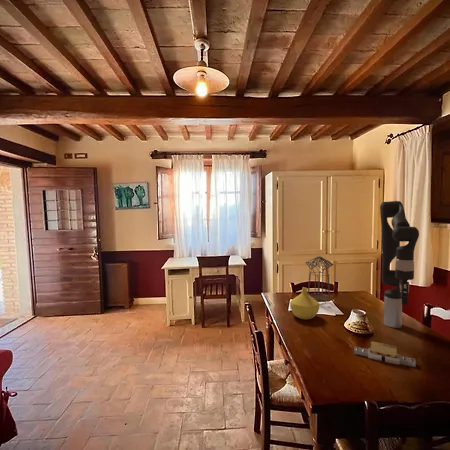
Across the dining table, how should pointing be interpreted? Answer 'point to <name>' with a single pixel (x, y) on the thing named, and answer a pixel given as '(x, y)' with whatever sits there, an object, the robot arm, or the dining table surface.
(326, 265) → the geometric lantern
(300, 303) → the vase
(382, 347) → the master link
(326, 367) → the dining table surface
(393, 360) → the chain ends
